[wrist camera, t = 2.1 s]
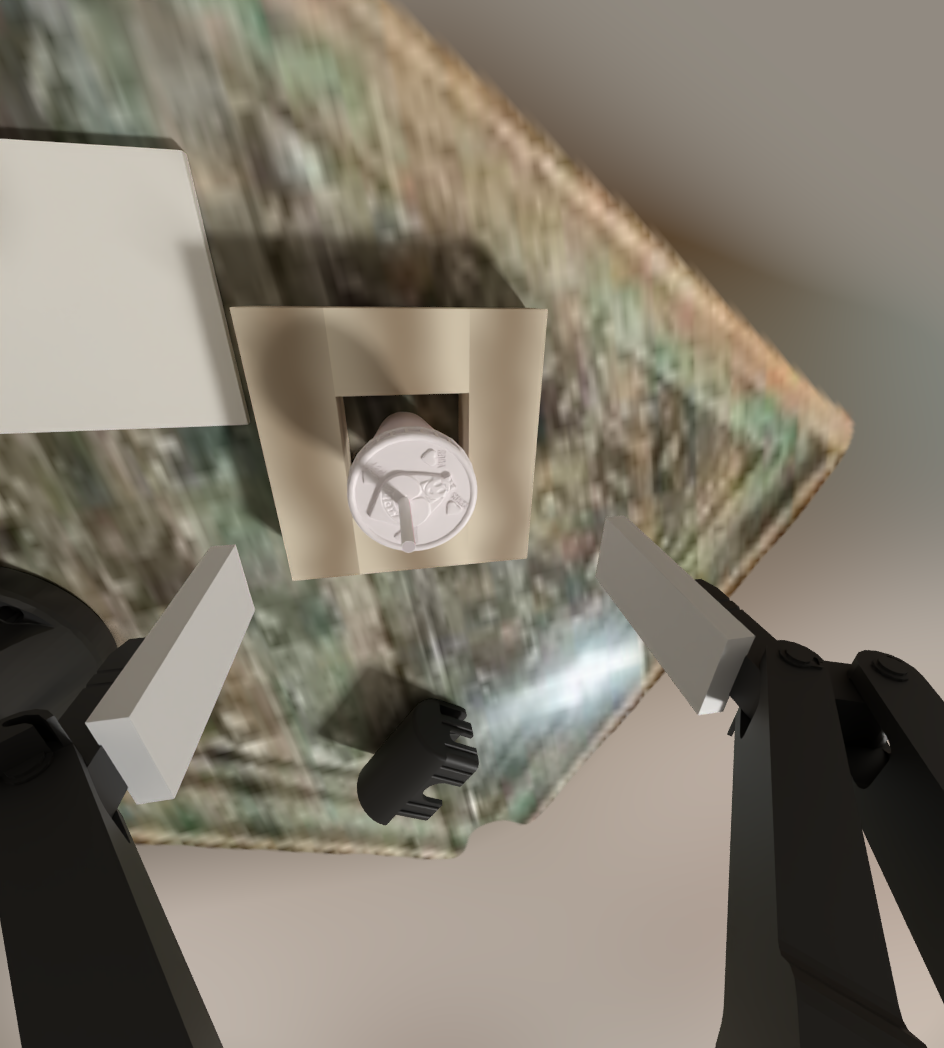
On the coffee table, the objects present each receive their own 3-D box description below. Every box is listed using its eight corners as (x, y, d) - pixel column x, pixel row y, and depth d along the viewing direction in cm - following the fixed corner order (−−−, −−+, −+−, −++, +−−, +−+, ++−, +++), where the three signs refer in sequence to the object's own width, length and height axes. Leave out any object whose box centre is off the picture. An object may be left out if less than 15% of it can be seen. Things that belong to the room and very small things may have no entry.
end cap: (411, 685, 40) (416, 751, 34) (470, 705, 43) (484, 770, 37) (357, 749, 43) (353, 821, 37) (416, 764, 46) (422, 833, 40)
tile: (8, 430, 24) (0, 433, 24) (-144, 133, 18) (-160, 128, 18) (250, 422, 27) (247, 424, 26) (186, 154, 20) (181, 150, 20)
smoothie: (338, 413, 27) (303, 507, 15) (429, 374, 27) (467, 436, 15) (383, 496, 30) (384, 627, 18) (464, 460, 30) (520, 569, 18)
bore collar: (302, 549, 31) (292, 580, 28) (251, 305, 24) (229, 307, 20) (512, 531, 34) (526, 558, 30) (525, 307, 26) (547, 309, 23)
